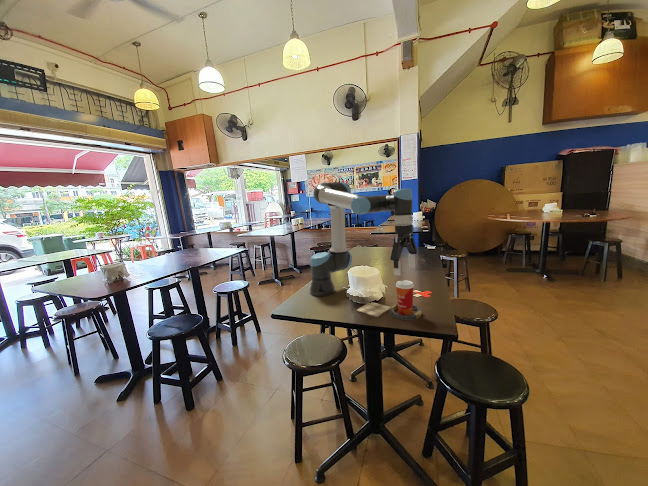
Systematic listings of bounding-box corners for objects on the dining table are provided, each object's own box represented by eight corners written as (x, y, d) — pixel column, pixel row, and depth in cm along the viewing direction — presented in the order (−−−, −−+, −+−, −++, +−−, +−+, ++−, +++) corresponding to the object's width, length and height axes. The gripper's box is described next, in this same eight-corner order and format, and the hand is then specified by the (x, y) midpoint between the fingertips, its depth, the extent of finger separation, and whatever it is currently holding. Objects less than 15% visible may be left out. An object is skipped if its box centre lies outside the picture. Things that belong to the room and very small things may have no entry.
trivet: (356, 310, 123) (356, 309, 123) (370, 302, 131) (370, 301, 131) (377, 317, 115) (377, 316, 115) (391, 308, 123) (391, 307, 123)
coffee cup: (393, 310, 121) (392, 280, 118) (410, 308, 121) (409, 279, 119) (400, 318, 112) (399, 286, 110) (417, 316, 113) (417, 284, 110)
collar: (385, 314, 117) (385, 310, 116) (399, 305, 126) (399, 301, 125) (412, 322, 108) (412, 318, 107) (425, 312, 117) (425, 307, 116)
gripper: (397, 228, 99) (398, 280, 102) (424, 221, 116) (424, 265, 119) (380, 228, 104) (382, 277, 107) (408, 221, 121) (409, 263, 125)
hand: (404, 271), depth 113 cm, fingers open, 13 cm apart
